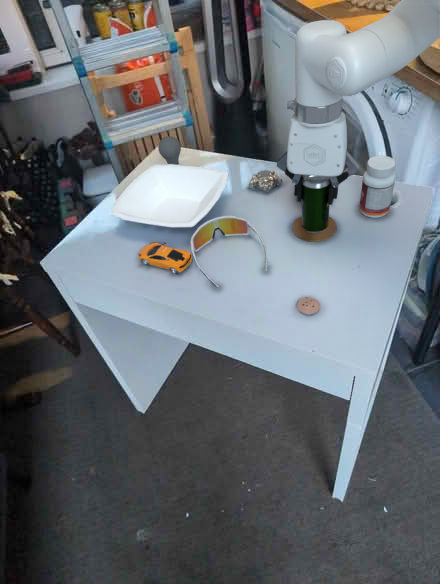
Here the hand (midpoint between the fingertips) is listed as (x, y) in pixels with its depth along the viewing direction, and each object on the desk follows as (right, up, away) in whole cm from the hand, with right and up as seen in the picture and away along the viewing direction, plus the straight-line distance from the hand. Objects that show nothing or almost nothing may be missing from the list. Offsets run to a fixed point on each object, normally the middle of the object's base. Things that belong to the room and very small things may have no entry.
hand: (315, 198), depth 85 cm
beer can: (+1, -5, +5) cm, 7 cm away
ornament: (-8, +6, +18) cm, 21 cm away
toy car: (-30, -12, +4) cm, 33 cm away
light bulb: (-30, +12, +28) cm, 43 cm away
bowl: (-29, 0, +16) cm, 33 cm away
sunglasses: (-17, -11, +3) cm, 20 cm away
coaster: (+1, -5, +5) cm, 7 cm away
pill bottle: (+14, -1, +7) cm, 15 cm away
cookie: (-3, -21, -9) cm, 23 cm away
